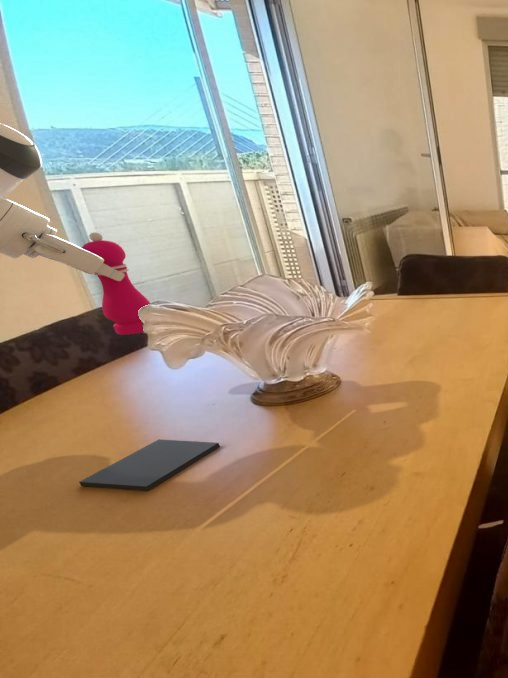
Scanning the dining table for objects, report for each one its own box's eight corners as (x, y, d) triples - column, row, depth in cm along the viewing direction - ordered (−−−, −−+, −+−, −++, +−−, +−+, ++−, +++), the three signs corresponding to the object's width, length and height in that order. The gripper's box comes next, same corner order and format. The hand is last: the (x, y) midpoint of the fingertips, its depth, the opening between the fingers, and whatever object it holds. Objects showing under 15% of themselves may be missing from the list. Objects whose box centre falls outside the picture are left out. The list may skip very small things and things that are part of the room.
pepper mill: (104, 334, 97) (56, 234, 89) (144, 323, 103) (103, 229, 96) (129, 336, 95) (83, 235, 87) (169, 325, 102) (129, 230, 94)
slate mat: (81, 486, 73) (78, 481, 72) (160, 443, 84) (158, 439, 83) (148, 491, 71) (146, 486, 71) (220, 446, 82) (218, 442, 82)
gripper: (42, 221, 80) (143, 268, 91) (21, 215, 90) (114, 258, 101) (15, 252, 78) (121, 296, 89) (-3, 242, 88) (94, 283, 100)
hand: (117, 276), depth 95 cm, fingers closed on pepper mill, 5 cm apart
